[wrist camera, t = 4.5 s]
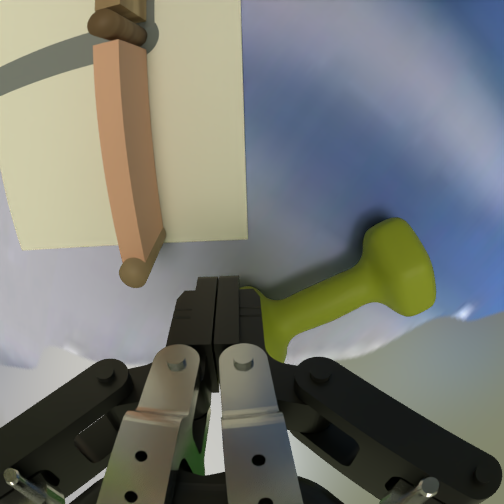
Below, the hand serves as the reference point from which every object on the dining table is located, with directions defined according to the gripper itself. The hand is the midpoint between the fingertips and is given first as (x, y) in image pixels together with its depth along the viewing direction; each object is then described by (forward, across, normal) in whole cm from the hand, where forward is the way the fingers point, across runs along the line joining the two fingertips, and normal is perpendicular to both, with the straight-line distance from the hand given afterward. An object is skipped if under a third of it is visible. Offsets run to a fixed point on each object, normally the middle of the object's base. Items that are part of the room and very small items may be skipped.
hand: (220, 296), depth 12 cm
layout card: (+12, +9, -12) cm, 19 cm away
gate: (+12, +6, -4) cm, 13 cm away
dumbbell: (+12, -7, +7) cm, 16 cm away
